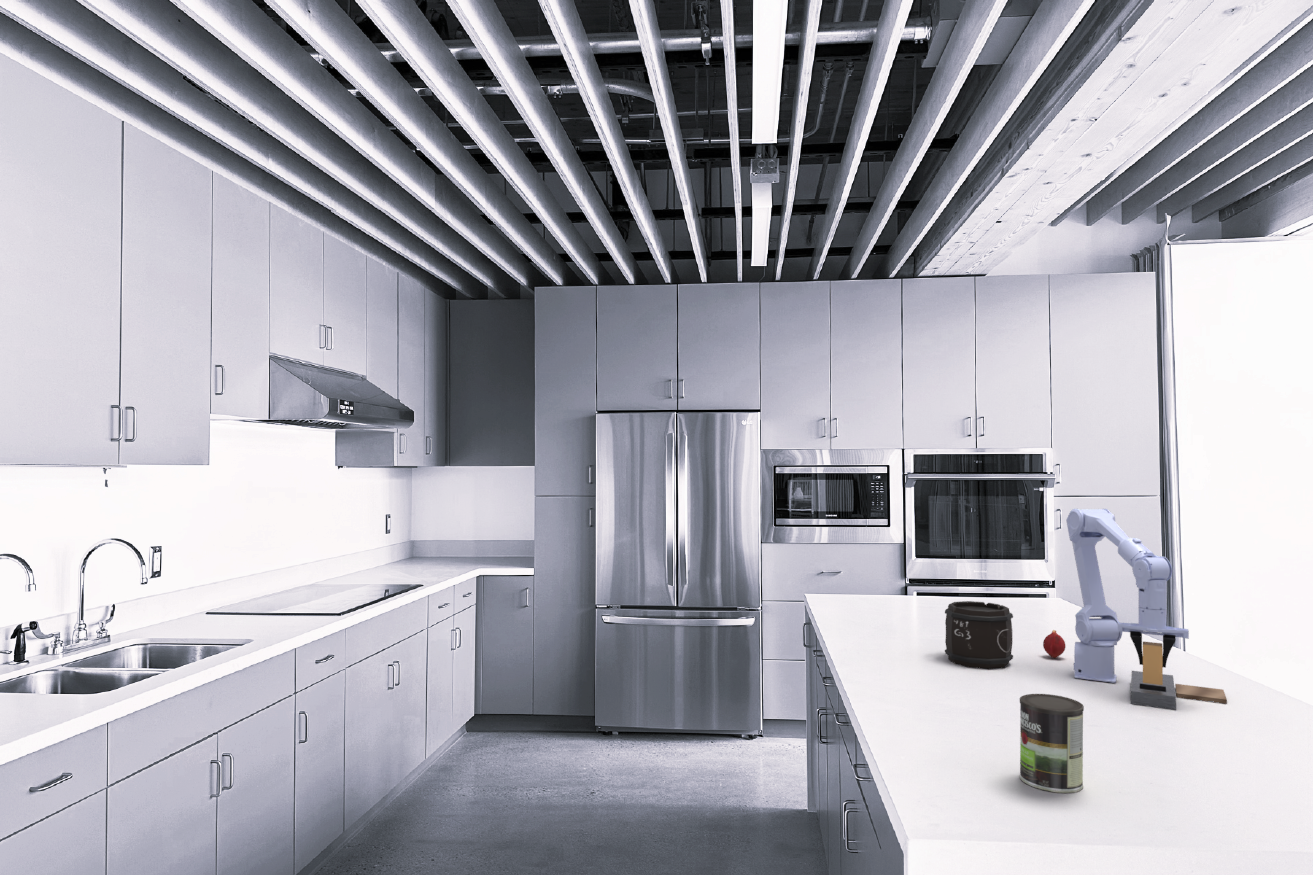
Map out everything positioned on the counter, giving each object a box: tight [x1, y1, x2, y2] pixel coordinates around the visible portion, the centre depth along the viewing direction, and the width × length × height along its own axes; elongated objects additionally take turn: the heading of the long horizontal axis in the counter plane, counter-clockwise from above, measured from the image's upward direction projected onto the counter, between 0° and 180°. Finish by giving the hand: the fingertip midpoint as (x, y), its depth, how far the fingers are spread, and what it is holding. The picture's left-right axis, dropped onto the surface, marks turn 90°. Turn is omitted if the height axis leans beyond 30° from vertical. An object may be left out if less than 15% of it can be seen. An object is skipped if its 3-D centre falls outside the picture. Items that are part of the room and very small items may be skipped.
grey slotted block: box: [1130, 670, 1177, 711], centre depth 203 cm, size 9×22×3 cm, turn 150°
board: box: [1174, 683, 1228, 705], centre depth 203 cm, size 10×10×1 cm
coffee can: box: [1019, 693, 1085, 794], centre depth 148 cm, size 10×10×14 cm
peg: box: [1142, 640, 1164, 685], centre depth 199 cm, size 4×4×9 cm
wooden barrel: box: [944, 600, 1014, 670], centre depth 235 cm, size 18×18×16 cm
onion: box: [1042, 629, 1067, 659], centre depth 240 cm, size 6×6×8 cm
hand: (1152, 665), depth 199 cm, fingers closed on peg, 4 cm apart
